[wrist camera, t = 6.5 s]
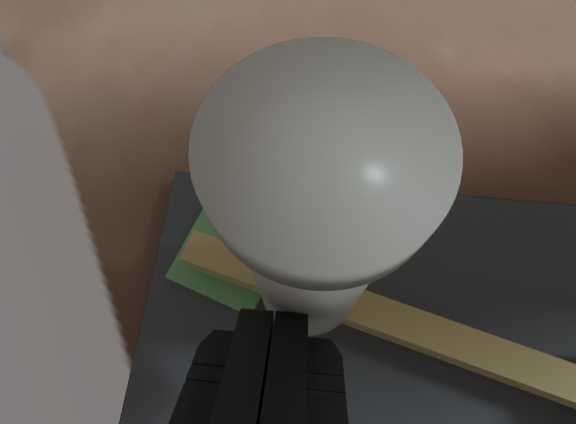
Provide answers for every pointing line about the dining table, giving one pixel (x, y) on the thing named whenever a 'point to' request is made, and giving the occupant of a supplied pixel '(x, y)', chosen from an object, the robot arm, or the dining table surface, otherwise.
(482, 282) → the dark grey base plate
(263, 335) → the robot arm
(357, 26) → the dining table surface
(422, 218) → the domed post with rod
